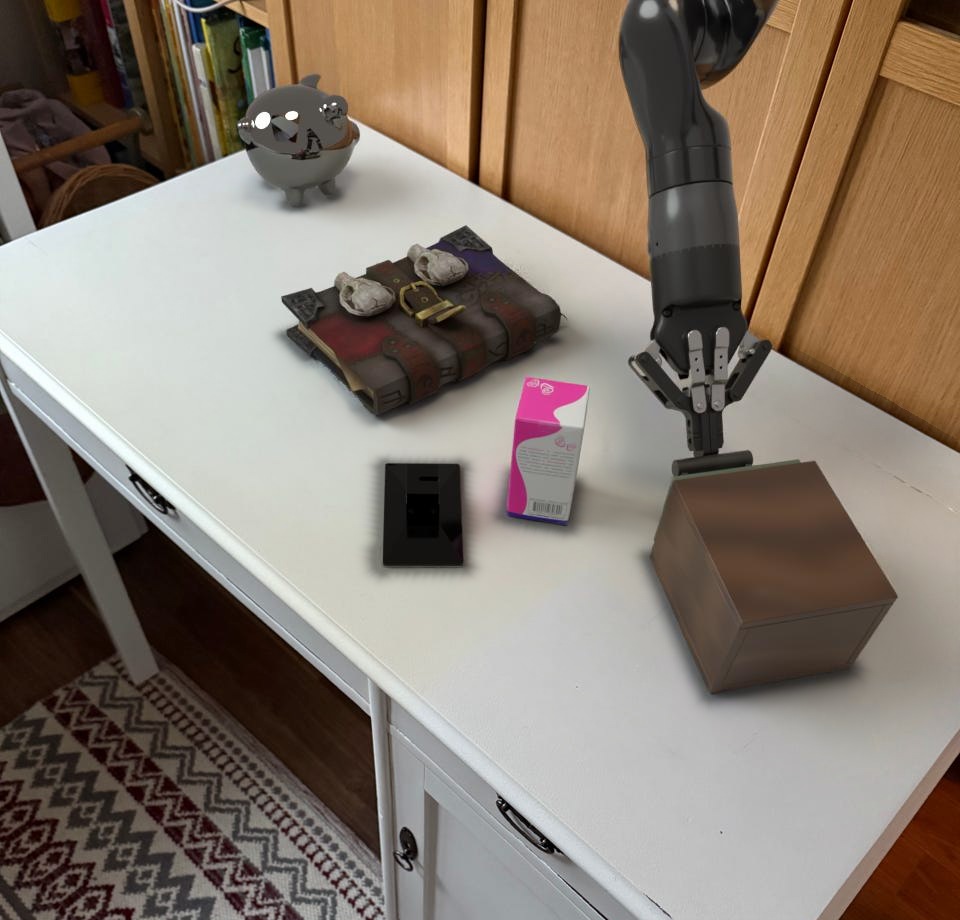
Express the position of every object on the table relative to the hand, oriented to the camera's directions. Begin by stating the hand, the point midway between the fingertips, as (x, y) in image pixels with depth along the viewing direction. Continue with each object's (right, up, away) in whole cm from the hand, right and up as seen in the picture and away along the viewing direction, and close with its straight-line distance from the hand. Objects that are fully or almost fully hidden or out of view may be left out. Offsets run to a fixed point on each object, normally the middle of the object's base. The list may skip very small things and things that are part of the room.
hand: (706, 456), depth 83 cm
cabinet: (+3, -14, -3) cm, 14 cm away
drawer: (+2, -10, -1) cm, 10 cm away
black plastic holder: (-25, -5, +2) cm, 26 cm away
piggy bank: (-42, +39, +32) cm, 66 cm away
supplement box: (-15, -3, +4) cm, 15 cm away
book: (-26, +16, +16) cm, 35 cm away
